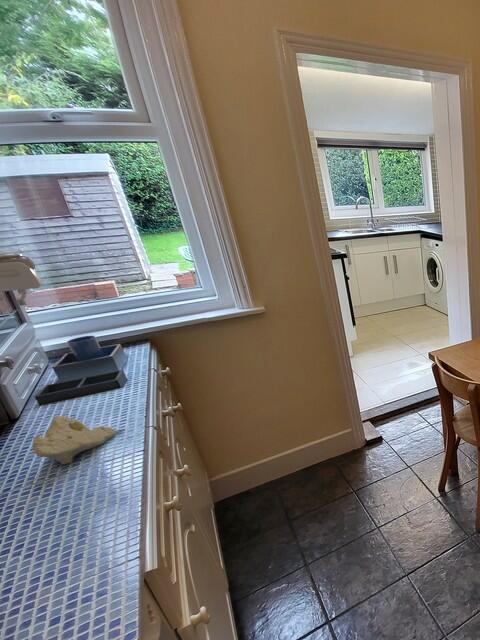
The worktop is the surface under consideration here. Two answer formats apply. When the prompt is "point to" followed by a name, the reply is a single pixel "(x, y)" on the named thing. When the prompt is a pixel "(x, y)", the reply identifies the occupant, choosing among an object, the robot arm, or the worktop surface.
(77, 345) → the cup
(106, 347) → the sink
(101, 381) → the divided tray
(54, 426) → the cheese
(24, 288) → the robot arm
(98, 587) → the worktop surface
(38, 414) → the worktop surface
